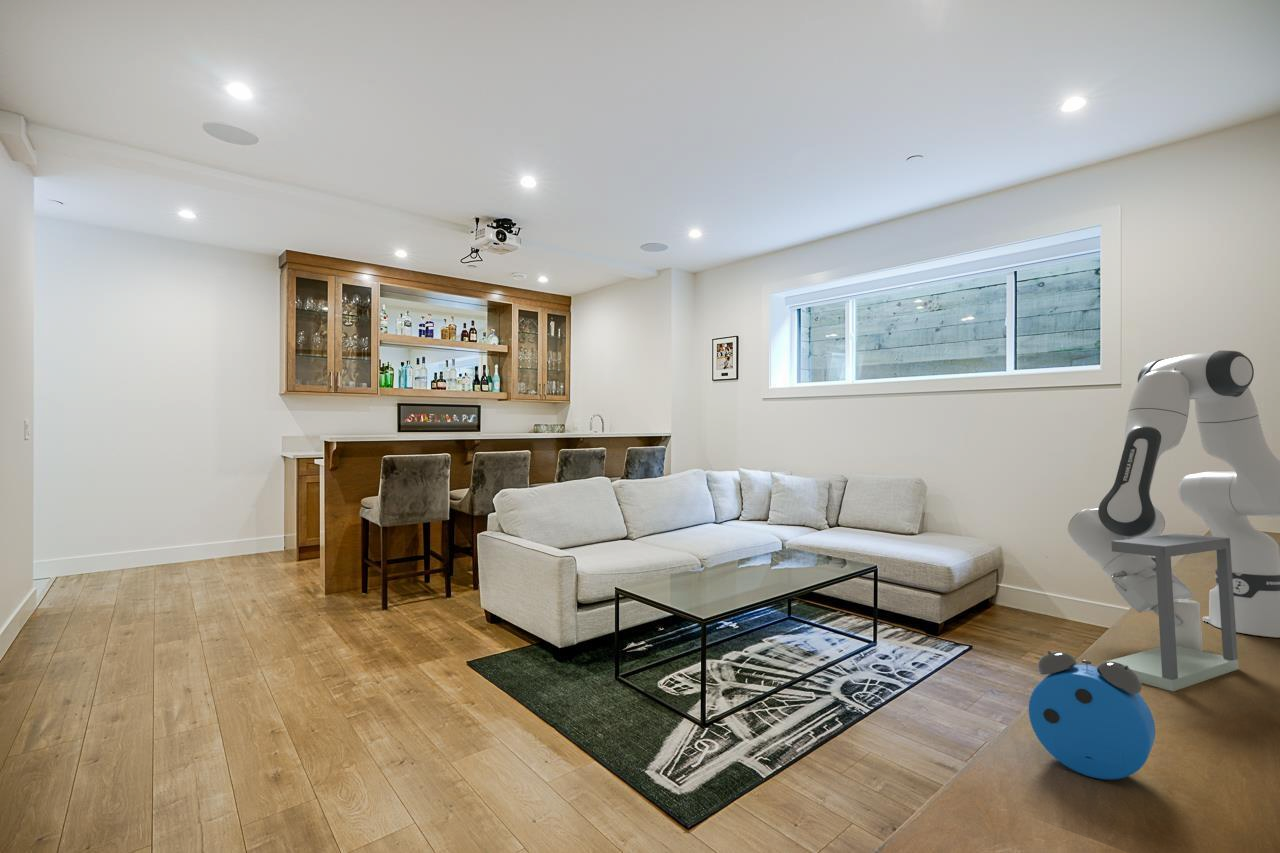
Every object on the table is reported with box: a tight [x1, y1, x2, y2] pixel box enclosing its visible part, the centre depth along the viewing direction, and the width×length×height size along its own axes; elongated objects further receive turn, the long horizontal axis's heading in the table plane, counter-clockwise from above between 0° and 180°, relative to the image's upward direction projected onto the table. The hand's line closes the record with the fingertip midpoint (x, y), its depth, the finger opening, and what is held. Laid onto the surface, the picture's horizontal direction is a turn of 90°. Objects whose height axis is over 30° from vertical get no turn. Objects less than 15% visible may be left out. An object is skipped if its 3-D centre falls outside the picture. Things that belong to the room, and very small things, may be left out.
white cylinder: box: [1173, 599, 1203, 651], centre depth 130 cm, size 6×6×11 cm
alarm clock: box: [1028, 650, 1156, 780], centre depth 81 cm, size 13×6×15 cm, turn 44°
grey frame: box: [1108, 533, 1239, 692], centre depth 119 cm, size 26×11×26 cm, turn 116°
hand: (1187, 623), depth 130 cm, fingers closed on white cylinder, 5 cm apart
